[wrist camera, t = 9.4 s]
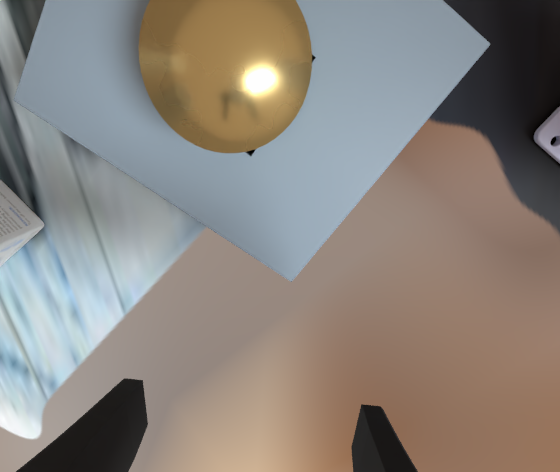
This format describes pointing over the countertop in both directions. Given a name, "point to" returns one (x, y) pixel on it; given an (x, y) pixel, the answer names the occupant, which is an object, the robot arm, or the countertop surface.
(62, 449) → the robot arm
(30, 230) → the light bulb box
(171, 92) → the brass door knob
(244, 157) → the block
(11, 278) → the countertop surface
